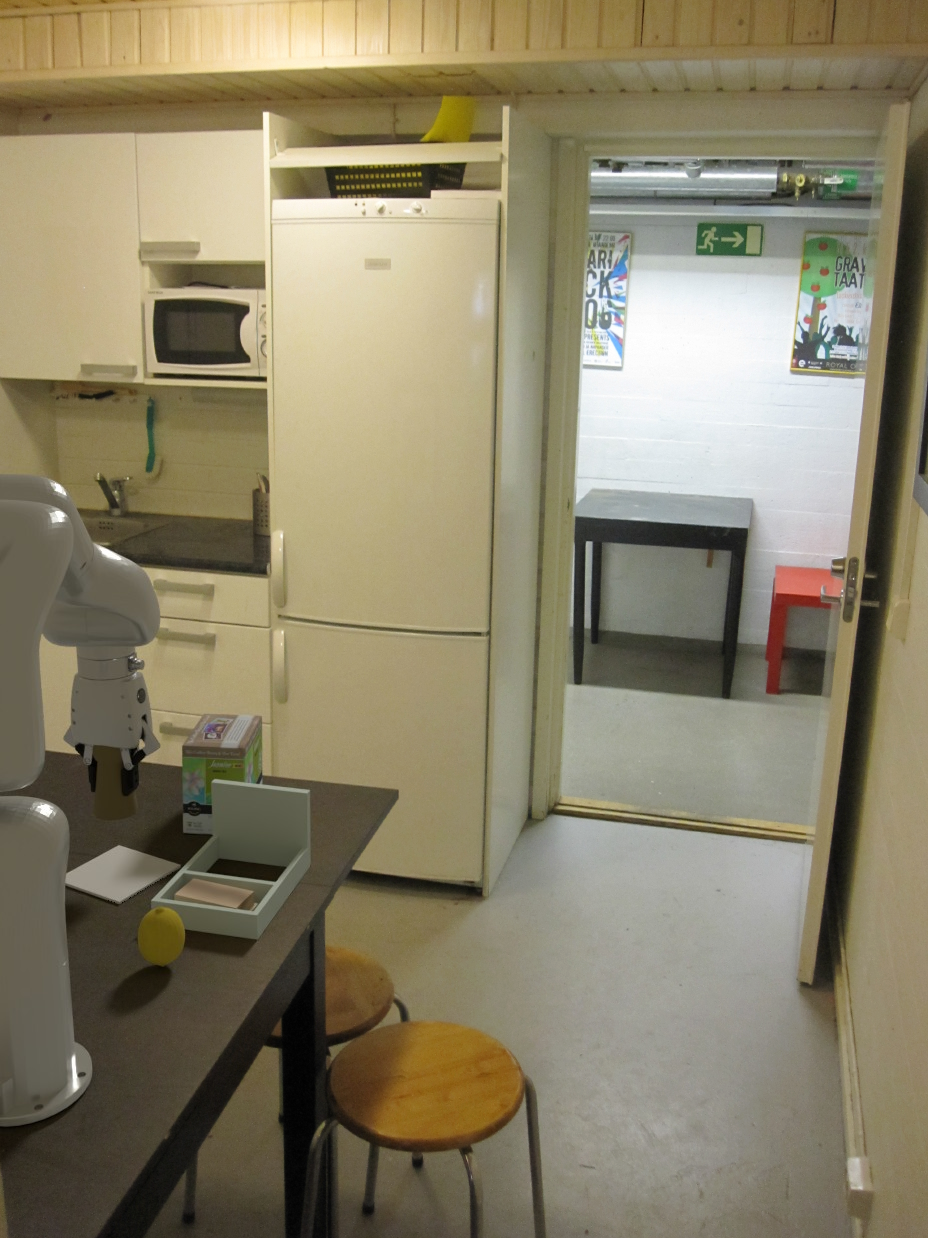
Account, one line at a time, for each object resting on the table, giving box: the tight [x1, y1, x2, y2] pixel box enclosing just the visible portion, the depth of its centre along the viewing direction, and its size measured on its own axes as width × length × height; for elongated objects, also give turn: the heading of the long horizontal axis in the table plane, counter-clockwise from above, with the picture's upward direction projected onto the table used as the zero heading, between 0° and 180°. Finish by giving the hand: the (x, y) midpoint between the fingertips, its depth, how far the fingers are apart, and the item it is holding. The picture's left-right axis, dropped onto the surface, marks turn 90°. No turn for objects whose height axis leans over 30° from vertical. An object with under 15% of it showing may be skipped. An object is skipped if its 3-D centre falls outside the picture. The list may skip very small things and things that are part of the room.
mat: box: [65, 844, 182, 905], centre depth 153 cm, size 12×12×1 cm
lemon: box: [137, 907, 186, 967], centre depth 130 cm, size 6×6×8 cm
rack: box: [150, 779, 312, 940], centre depth 147 cm, size 20×15×12 cm
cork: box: [92, 745, 139, 821], centre depth 149 cm, size 6×6×11 cm
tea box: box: [181, 713, 263, 835], centre depth 171 cm, size 15×10×15 cm
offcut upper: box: [174, 878, 254, 911], centre depth 142 cm, size 5×9×2 cm, turn 71°
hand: (114, 789), depth 149 cm, fingers closed on cork, 4 cm apart
